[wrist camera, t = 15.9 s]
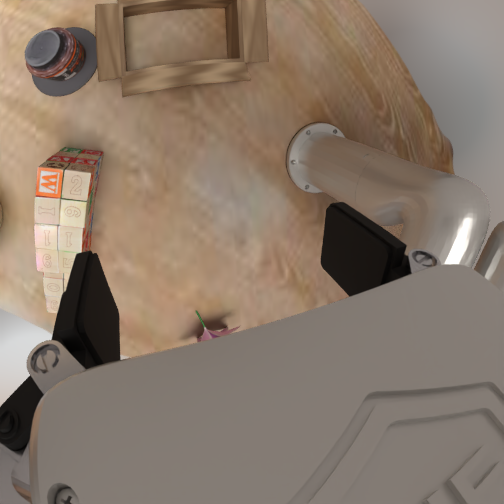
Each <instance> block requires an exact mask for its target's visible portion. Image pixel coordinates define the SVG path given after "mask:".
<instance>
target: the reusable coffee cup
mask: <svg viewBox="0 0 504 504" xmlns="http://www.w3.org/2000/svg"><path fill="white" fill-rule="evenodd" d="M2 219H3V212H2V207H1V204H0V227H1V224H2Z"/></svg>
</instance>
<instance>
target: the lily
mask: <svg viewBox="0 0 504 504" xmlns="http://www.w3.org/2000/svg"><path fill="white" fill-rule="evenodd" d="M196 313H197V315H198V317H199V319H200V321H201V322H202V324H203V327H204V333H203V335H202V337H201V338H197V342H201V341H205V340H209V339H213V338H217V337H220V336H224V335H228V334H230V333H232V332H234V331H235V330H236V329H238V328H239V327H240V326H238V327H236V328H233V329H231V330H228V327H226V328H225V329H223V330H222V331H221V332H218V331H212V330H208V329H206V327H205V325H204V323H203V321H202V319H201V317H200V316H199V314H198V312H197V311H196Z"/></svg>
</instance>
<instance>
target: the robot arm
mask: <svg viewBox="0 0 504 504" xmlns="http://www.w3.org/2000/svg"><path fill="white" fill-rule="evenodd" d="M291 161H292V162H291ZM286 164H287V170H288V173H289V176H290V178H291V180H292V181H293V182H294V183H295V185H296V186H298V187H299V188H301V189H302V190H304V191H306V192H310V193H320V192H325V193H326V194H328V195H329V196H331V197H333V198H334V199H336V200H338V201H339V203H332V204H330V206H329V207H328V208H327V210H326V217H325V227H324V236H323V245H322V254H321V265H322V267H323V269H324V270H325V271H326V272H327V273H328V274H329V275H330V276H331V277H332V278H333V279H334V280H335V281H336V282H337V283H338V284H339V286H340V287H341V288H342V289H343V290H344V291H345V292H346V293H347V294H348V295H349V296H350V297H348V298H345V299H342V300H339V301H336V302H334V303H331V304H328V305H325V306H322V307H319V308H316V309H313V310H310V311H306V312H303V313H300V314H297V315H294V316H291V317H287V318H284V319H281V320H277V321H274V322H271V323H267V324H264V325H260V326H257V327H253V328H250V329H246V330H243V331H239V332H235V333H232V334H228V335H224V336H220V337H217V338H213V339H209V340H205V341H201V342H197V343H193V344H189V345H185V346H180V347H176V348H172V349H167V350H163V351H158V352H154V353H149V354H145V355H141V356H136V357H132V358H128V359H123V360H120V333H119V312H118V308H117V306H116V303H115V301H114V298H113V296H112V293H111V291H110V288H109V286H108V283H107V280H106V277H105V275H104V272H103V269H102V266H101V263H100V261H99V258H98V255H97V253H94V254H93V253H92V252H91V251H85V252H81V253H77V254H76V256H75V260H74V263H73V266H72V269H71V273H70V276H69V280H68V284H67V287H66V291H65V292H63V294H62V297H61V301H60V305H59V309H58V313H57V317H56V322H55V326H54V331H53V336H52V340H49V341H44V342H42V343H40V344H38V345H37V346H36V347H35V348H34V349H33V350H32V351H31V353H30V354H29V356H28V359H27V369H28V372H29V374H30V376H29V377H28V378H27V379H26V380H25V381H24V382H23V383H22V384H21V385H20V386H19V387H18V389H17V390H16V391H15V392H14V393H13V394H12V395H11V396H10V397H9V398H8V399H7V400H6V401H5V402H4V403H3V404H2V406H1V407H0V504H504V221H502V222H500V223H499V224H498V225H497V226H496V227H495V228H494V230H493V231H492V233H491V235H490V237H489V238H488V241H487V243H486V245H485V247H484V249H483V251H482V253H481V255H480V258H479V260H478V262H477V264H476V266H475V268H474V270H473V269H472V266H473V264H474V262H475V260H476V258H477V255H478V253H479V251H480V249H481V246H482V244H483V242H484V239H485V236H486V233H487V229H488V226H489V221H490V206H489V201H488V199H487V196H486V195H485V193H484V192H483V191H482V189H481V188H479V187H478V186H477V185H475V184H474V183H473V182H471V181H469V180H467V179H464V178H462V177H459V176H456V175H453V174H449V173H445V172H441V171H438V170H434V169H431V168H427V167H424V166H421V165H418V164H415V163H413V162H410V161H407V160H405V159H402V158H399V157H397V156H394V155H392V154H389V153H386V152H384V151H381V150H378V149H376V148H373V147H370V146H367V145H364V144H361V143H358V142H355V141H352V140H349V139H346V138H345V136H344V134H343V133H342V132H341V131H340V130H339V129H338V128H336V127H335V126H333V125H330V124H327V123H313V124H310V125H308V126H306V127H304V128H303V129H301V130H300V131H299V132H298V133H297V134H296V135H295V137H294V138H293V140H292V141H291V143H290V146H289V148H288V152H287V161H286ZM403 223H404V225H403V228H402V231H401V234H400V238H399V239H398V238H396V237H395V236H393V235H392V234H391V233H389V232H388V231H386V230H385V229H383V228H382V227H381V226H395V225H399V224H403ZM379 225H381V226H379Z"/></svg>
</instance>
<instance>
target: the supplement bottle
mask: <svg viewBox="0 0 504 504" xmlns="http://www.w3.org/2000/svg"><path fill="white" fill-rule="evenodd" d="M85 58H86V52H85V49H84V47H83V45H82V44H81V43H80V40H79V41H78V39H76V37H75V36H74V35H73V34H72V33H70V32H69V31H68V30H66V29H64V28H59V27H56V28H51V29H48V30H44V31H42V32H39V33H38V34H36V35H35V36H34V37H33V38H32V39H31V40H30V41H29V43H28V45H27V47H26V50H25V59H26V66H27V68H28V70H29V72H30V73H31V74H33V75H34V76H36V77H40V78H44V79H49V80H54V81H65V80H68V79H70V78H72V77H74V76H75V75H76V74H77V73H78V72H79V71H80V70H81V68H82V67H83V65H84V62H85Z"/></svg>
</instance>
